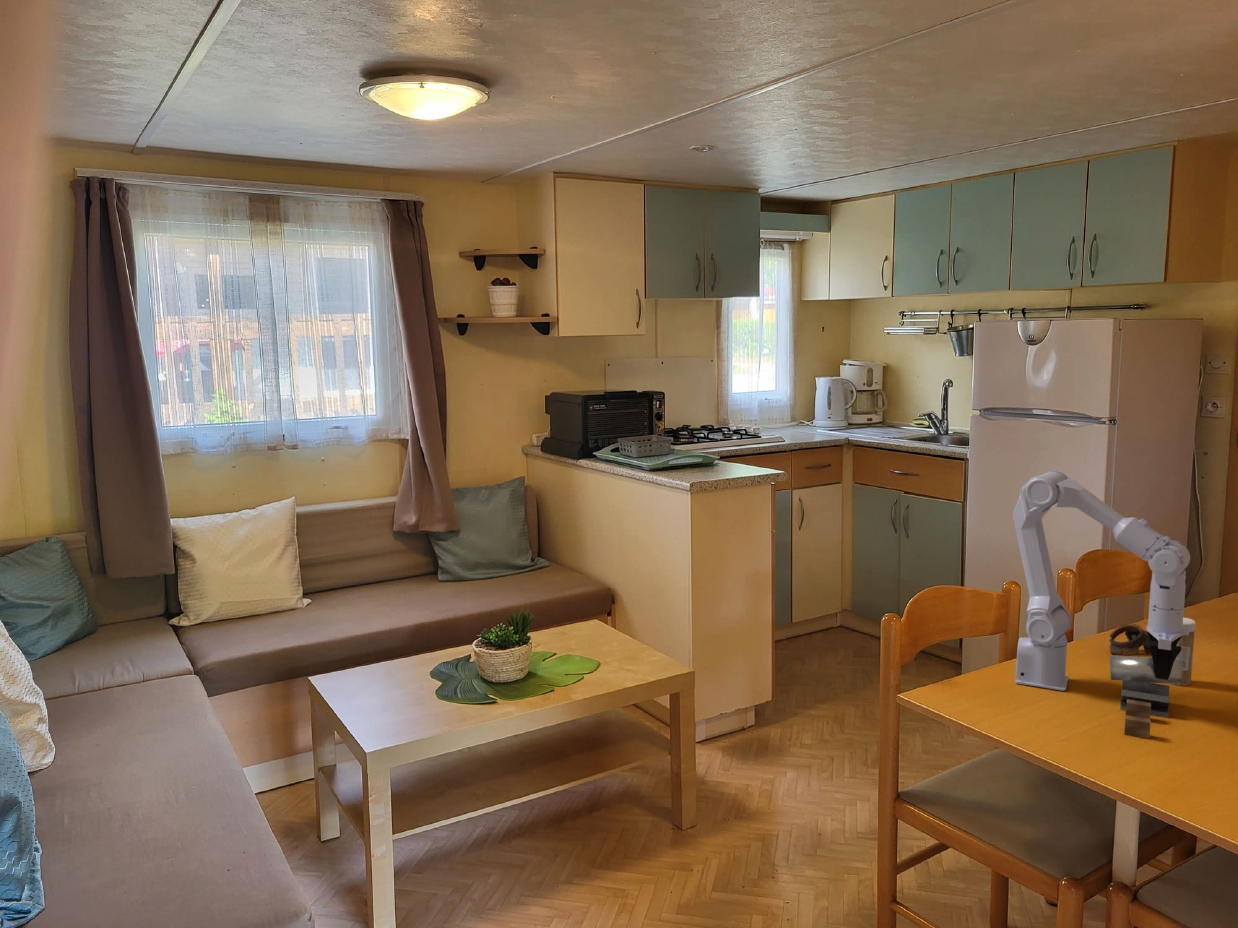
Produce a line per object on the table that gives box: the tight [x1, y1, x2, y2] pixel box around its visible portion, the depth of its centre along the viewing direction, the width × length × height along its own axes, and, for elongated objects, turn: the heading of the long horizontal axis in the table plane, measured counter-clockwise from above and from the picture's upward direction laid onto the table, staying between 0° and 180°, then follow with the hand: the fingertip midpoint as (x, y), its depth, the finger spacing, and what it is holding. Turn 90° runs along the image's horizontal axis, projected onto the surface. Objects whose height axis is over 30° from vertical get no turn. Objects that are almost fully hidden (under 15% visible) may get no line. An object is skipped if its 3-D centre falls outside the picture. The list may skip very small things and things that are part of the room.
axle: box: [1109, 654, 1183, 686], centre depth 180 cm, size 12×5×5 cm, turn 60°
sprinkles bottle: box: [1174, 617, 1197, 687], centre depth 191 cm, size 5×5×14 cm
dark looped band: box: [1109, 623, 1151, 655], centre depth 208 cm, size 12×10×8 cm
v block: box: [1120, 681, 1170, 718], centre depth 181 cm, size 8×8×4 cm
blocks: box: [1123, 699, 1152, 740], centre depth 173 cm, size 4×10×3 cm, turn 150°
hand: (1161, 673), depth 179 cm, fingers closed on axle, 5 cm apart
